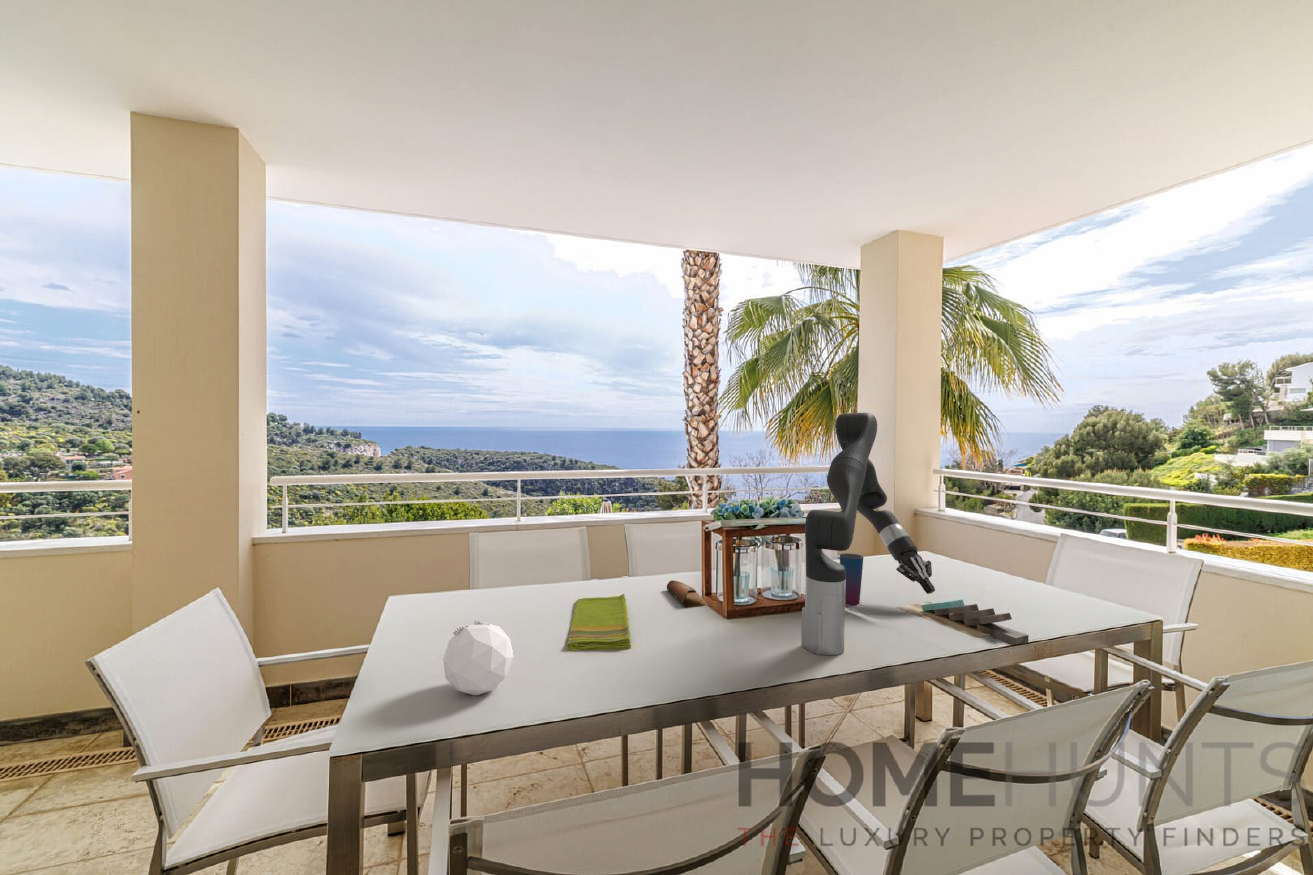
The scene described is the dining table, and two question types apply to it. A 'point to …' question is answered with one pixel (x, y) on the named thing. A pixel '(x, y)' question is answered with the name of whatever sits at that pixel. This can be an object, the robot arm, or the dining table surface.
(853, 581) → the cup
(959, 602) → the domino
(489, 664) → the geodesic sphere
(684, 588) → the sunglasses case
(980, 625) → the domino
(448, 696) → the dining table surface
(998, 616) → the domino
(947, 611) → the domino
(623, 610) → the dish towel
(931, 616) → the board
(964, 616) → the domino
